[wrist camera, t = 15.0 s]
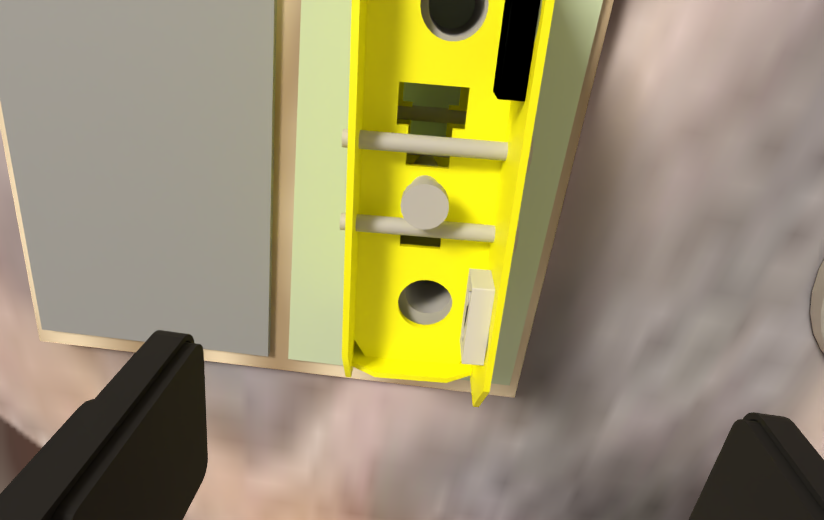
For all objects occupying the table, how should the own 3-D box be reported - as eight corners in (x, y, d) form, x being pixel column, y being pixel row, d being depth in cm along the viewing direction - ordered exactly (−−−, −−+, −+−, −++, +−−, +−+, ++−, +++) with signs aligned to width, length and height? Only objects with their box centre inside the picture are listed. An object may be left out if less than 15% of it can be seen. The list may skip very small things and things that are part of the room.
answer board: (630, -103, 21) (644, -111, 19) (511, 382, 30) (515, 402, 29) (-36, -197, 20) (-72, -212, 19) (54, 328, 29) (34, 345, 28)
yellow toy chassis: (477, 311, 26) (496, 438, 19) (355, 301, 26) (325, 424, 19) (535, -89, 20) (601, -141, 12) (371, -103, 20) (334, -164, 12)
